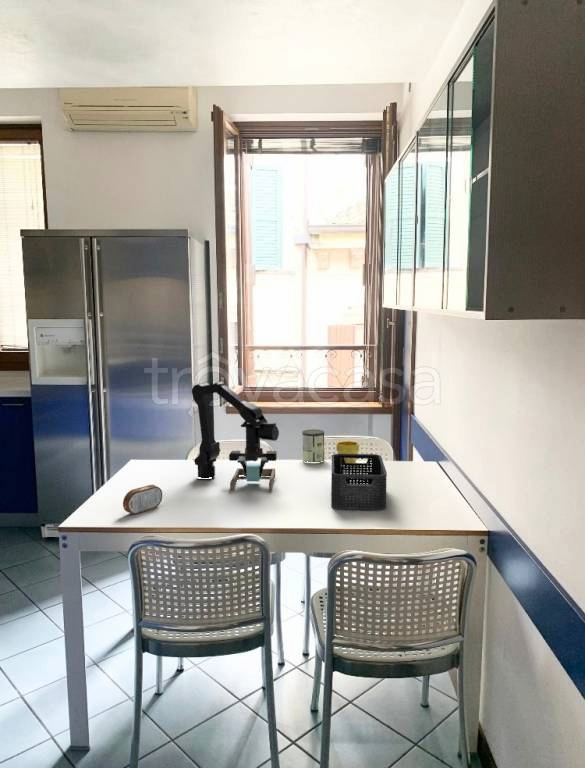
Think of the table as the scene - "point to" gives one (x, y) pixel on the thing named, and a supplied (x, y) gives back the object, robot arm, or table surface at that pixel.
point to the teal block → (253, 472)
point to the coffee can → (313, 445)
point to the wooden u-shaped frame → (264, 473)
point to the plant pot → (348, 449)
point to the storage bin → (358, 483)
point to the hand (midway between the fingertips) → (253, 476)
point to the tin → (142, 499)
